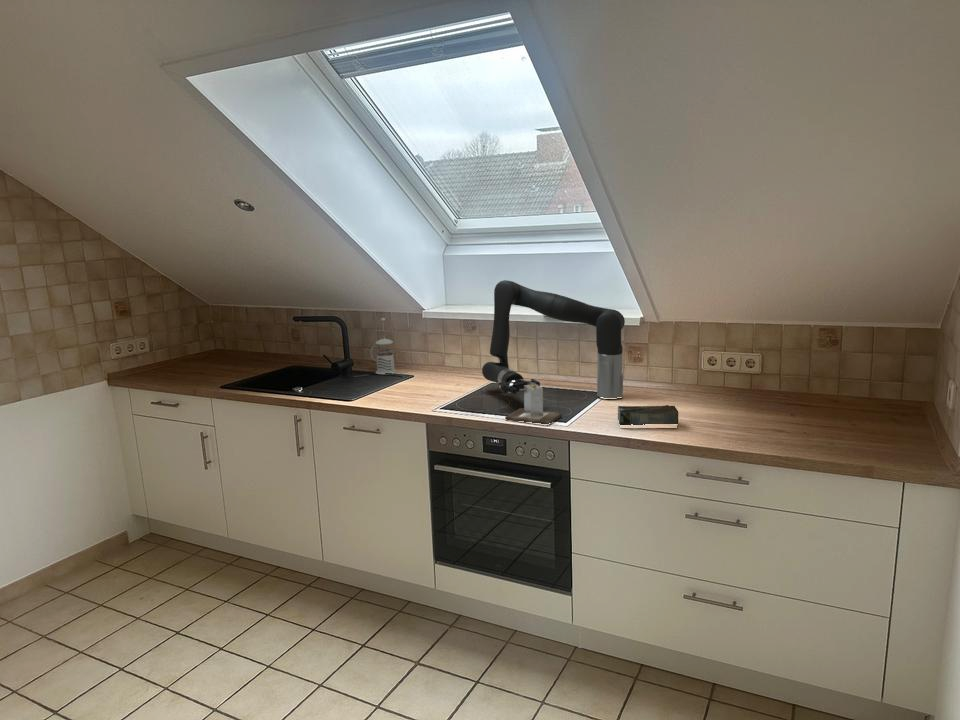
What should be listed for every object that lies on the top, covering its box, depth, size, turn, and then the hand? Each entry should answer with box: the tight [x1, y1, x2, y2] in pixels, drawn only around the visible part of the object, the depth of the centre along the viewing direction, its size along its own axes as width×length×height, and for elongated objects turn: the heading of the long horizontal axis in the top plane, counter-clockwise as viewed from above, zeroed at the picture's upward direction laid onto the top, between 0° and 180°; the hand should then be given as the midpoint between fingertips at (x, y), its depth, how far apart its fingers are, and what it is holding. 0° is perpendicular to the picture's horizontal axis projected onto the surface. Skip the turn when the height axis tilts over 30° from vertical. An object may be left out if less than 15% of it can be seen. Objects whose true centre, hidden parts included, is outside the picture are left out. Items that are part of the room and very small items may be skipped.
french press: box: [369, 317, 397, 375], centre depth 312 cm, size 10×12×25 cm
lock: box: [523, 384, 544, 418], centre depth 237 cm, size 4×6×11 cm
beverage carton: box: [617, 404, 679, 425], centre depth 227 cm, size 8×19×7 cm, turn 84°
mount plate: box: [504, 407, 563, 424], centre depth 238 cm, size 16×12×1 cm
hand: (526, 390), depth 242 cm, fingers open, 8 cm apart
